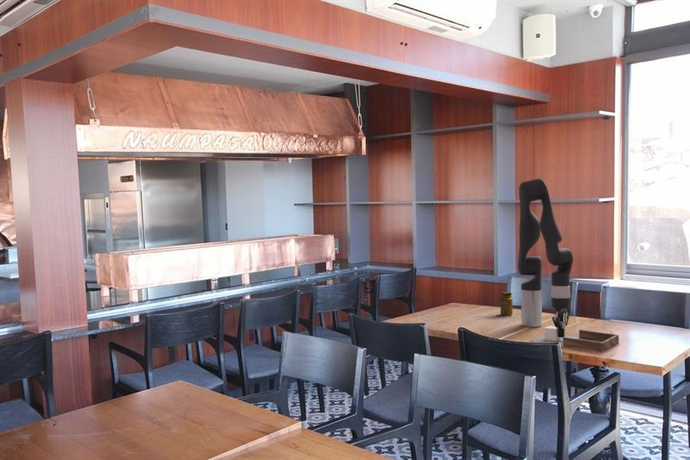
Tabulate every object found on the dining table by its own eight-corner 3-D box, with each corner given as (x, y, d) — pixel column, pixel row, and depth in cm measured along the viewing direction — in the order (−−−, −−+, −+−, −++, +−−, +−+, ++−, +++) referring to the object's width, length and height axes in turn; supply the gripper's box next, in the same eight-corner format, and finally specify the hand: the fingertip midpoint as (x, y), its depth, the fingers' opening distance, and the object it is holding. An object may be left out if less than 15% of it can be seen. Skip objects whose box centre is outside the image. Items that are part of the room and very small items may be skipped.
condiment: (515, 315, 306) (515, 292, 305) (507, 317, 300) (507, 294, 299) (503, 313, 311) (503, 291, 310) (494, 316, 305) (494, 293, 304)
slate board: (548, 335, 260) (548, 333, 259) (619, 345, 239) (619, 343, 239) (529, 343, 246) (529, 340, 246) (603, 354, 226) (603, 352, 226)
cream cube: (549, 337, 252) (549, 325, 252) (560, 338, 248) (560, 327, 248) (544, 339, 248) (544, 327, 248) (555, 341, 245) (555, 329, 245)
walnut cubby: (579, 337, 250) (579, 329, 250) (618, 343, 239) (618, 334, 239) (562, 345, 237) (562, 337, 237) (603, 352, 226) (603, 343, 226)
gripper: (558, 293, 253) (559, 333, 254) (545, 297, 243) (545, 338, 244) (575, 294, 248) (576, 335, 248) (563, 298, 238) (563, 341, 239)
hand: (561, 337), depth 246 cm, fingers closed
